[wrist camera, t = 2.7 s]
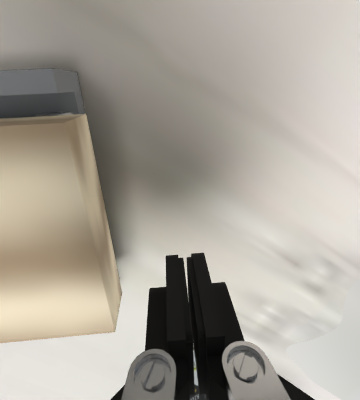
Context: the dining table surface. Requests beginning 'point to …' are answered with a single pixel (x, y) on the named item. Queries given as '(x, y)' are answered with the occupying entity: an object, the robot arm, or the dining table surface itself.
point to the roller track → (39, 92)
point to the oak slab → (53, 233)
